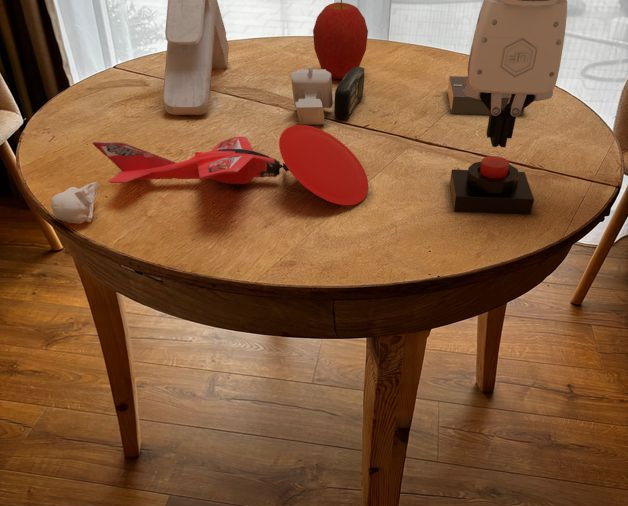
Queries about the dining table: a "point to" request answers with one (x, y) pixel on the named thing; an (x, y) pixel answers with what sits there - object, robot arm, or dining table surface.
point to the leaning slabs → (192, 54)
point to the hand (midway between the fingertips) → (497, 142)
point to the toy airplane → (193, 163)
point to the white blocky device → (311, 94)
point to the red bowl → (323, 165)
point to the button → (494, 167)
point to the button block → (490, 191)
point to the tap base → (468, 99)
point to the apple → (340, 38)
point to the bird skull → (75, 203)
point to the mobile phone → (349, 92)
